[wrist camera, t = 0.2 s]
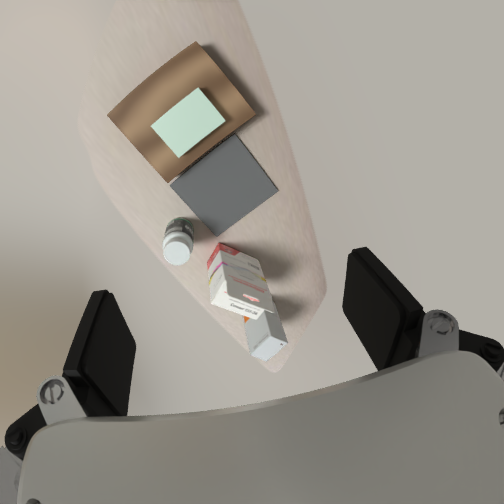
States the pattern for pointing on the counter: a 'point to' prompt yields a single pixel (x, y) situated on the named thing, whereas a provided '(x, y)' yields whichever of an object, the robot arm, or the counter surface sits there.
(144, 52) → the counter surface
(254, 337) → the skincare box
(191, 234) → the pill bottle
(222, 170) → the mat
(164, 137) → the mint green block
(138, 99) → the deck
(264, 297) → the ink cartridge box
